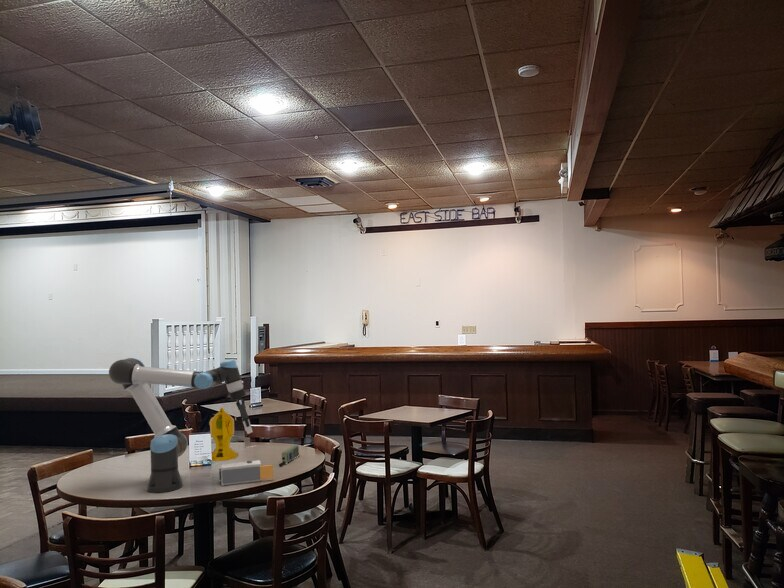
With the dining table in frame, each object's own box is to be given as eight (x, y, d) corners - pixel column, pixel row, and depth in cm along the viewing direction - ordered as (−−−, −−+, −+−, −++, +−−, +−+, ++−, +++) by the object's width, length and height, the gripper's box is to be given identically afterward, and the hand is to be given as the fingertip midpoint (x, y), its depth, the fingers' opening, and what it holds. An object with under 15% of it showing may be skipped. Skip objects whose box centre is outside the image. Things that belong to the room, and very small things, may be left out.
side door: (222, 483, 264) (222, 470, 264) (222, 483, 265) (222, 470, 265) (273, 477, 271) (272, 465, 271) (273, 477, 272) (272, 464, 272)
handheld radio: (300, 456, 321) (283, 467, 296) (294, 456, 321) (277, 467, 297) (299, 444, 321) (282, 454, 296) (293, 444, 322) (276, 454, 297)
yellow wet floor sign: (218, 463, 310) (217, 411, 311) (197, 457, 327) (196, 408, 329) (247, 457, 322) (245, 407, 324) (225, 452, 339) (224, 404, 341)
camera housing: (219, 485, 265) (219, 466, 265) (219, 481, 273) (219, 463, 273) (261, 480, 270) (260, 462, 271) (260, 476, 278) (259, 458, 278)
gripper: (245, 388, 273) (258, 431, 272) (242, 387, 296) (254, 426, 296) (229, 393, 270) (243, 437, 270) (228, 391, 294) (240, 431, 293)
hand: (249, 431), depth 283 cm, fingers open, 13 cm apart
